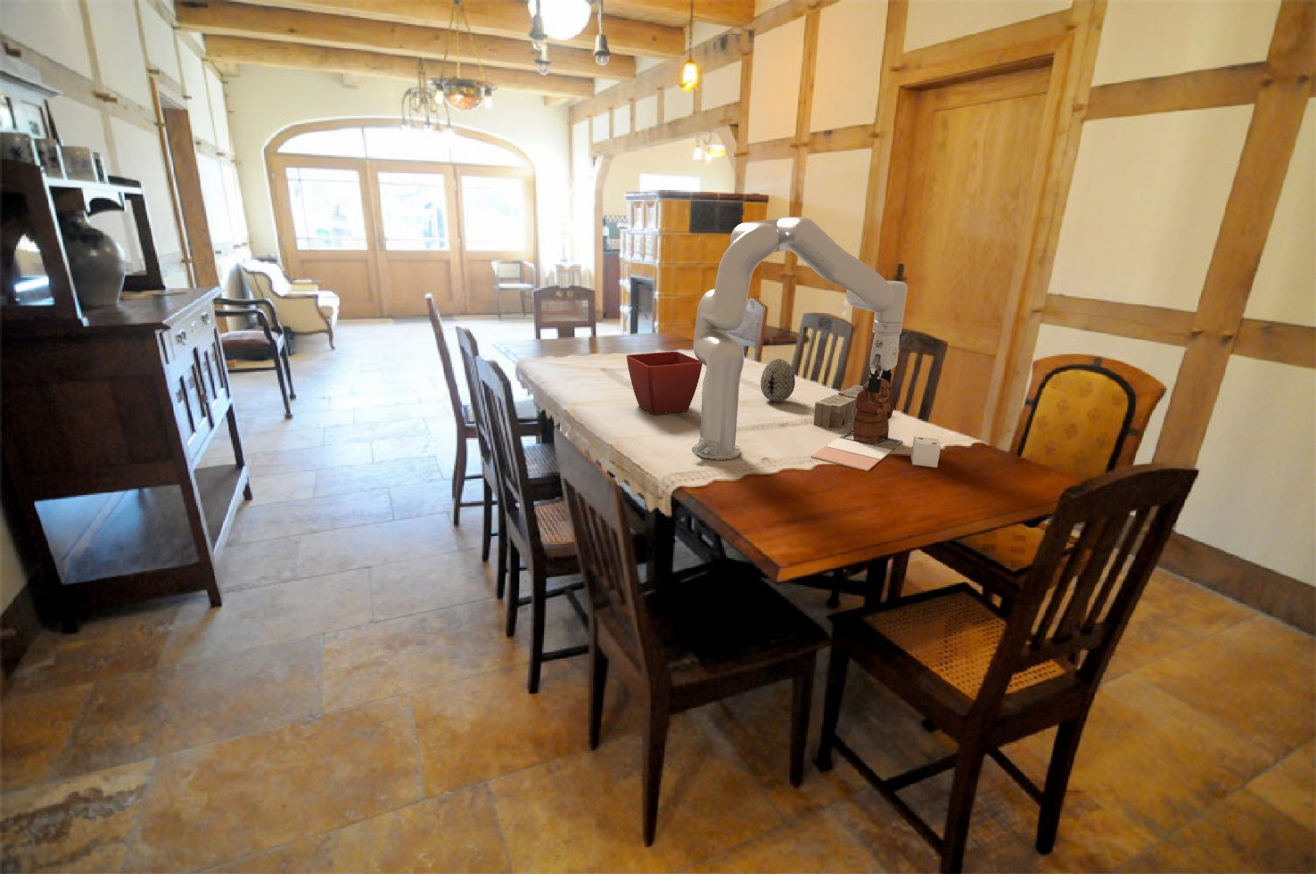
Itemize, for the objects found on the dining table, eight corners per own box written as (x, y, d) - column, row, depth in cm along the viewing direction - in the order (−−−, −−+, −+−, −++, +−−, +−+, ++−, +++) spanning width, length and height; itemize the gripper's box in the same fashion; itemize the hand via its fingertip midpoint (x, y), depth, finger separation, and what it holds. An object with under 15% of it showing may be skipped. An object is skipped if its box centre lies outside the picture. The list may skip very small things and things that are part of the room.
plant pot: (624, 403, 214) (625, 354, 208) (675, 398, 221) (677, 350, 216) (647, 419, 197) (648, 366, 192) (701, 413, 205) (704, 362, 199)
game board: (867, 471, 161) (867, 470, 160) (810, 457, 169) (811, 455, 169) (902, 442, 183) (902, 440, 183) (850, 430, 192) (851, 429, 191)
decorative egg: (797, 400, 222) (802, 358, 217) (785, 408, 213) (789, 364, 208) (766, 395, 228) (770, 354, 223) (753, 402, 219) (757, 359, 214)
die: (936, 467, 165) (941, 445, 163) (912, 464, 166) (916, 443, 164) (934, 459, 170) (938, 438, 168) (910, 457, 172) (914, 436, 170)
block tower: (835, 433, 192) (874, 411, 213) (838, 407, 189) (878, 387, 210) (811, 427, 197) (852, 406, 218) (814, 402, 194) (855, 382, 215)
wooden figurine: (866, 445, 178) (875, 383, 172) (848, 438, 183) (856, 378, 177) (893, 438, 184) (902, 378, 178) (875, 432, 189) (883, 373, 183)
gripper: (891, 333, 164) (882, 397, 170) (910, 325, 177) (901, 385, 183) (862, 329, 168) (854, 393, 174) (883, 322, 182) (876, 381, 187)
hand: (879, 388), depth 179 cm, fingers closed on wooden figurine, 8 cm apart
